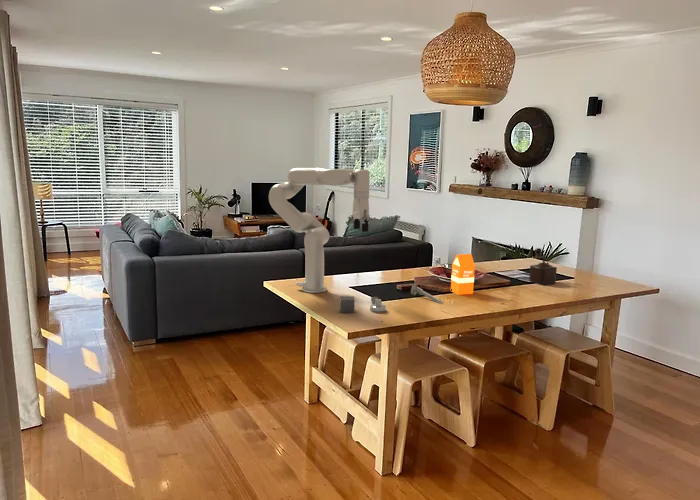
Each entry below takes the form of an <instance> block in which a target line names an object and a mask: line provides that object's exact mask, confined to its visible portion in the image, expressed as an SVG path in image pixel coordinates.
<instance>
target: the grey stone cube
mask: <svg viewBox="0 0 700 500" xmlns="http://www.w3.org/2000/svg"><path fill="white" fill-rule="evenodd" d="M339 299H340V300H339V303H340V304H339V305H340V307H339V308H340V309H339V310H340V311H339V312H340V313H341V312H342V313H341V314H355V296H352V295H351V296H349V295H347V296H346V295H344V296H343V295H341V296H340V298H339ZM346 312H347V313H346Z"/></svg>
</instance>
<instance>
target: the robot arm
mask: <svg viewBox="0 0 700 500" xmlns="http://www.w3.org/2000/svg"><path fill="white" fill-rule="evenodd" d="M370 176H371V175H370V170H369V169H365V168H364V169H353V168H343V169H341V168H339V169H338V168H337V169H336V168H333V169H332V168H328V169H326V168H322V167H294V168H292V169H290V170H289V171H288V174H287V180H285V182H282V183H277V184H274V185H273V186H272V187H271V188H270V190H269V193H268V202H269V205H270V206H271V208H272V209H273V211H274V212H275V213H276V214H277V215H278V216H279V217H281V218H282V220H283V221H284V222H285V223H286V224H287V225H289V227H291V228H292V230H293V231H294V232H296V233H300V234H301V233H305V235H304V237H303V238H304V240H303V243H304V244H303V246H304V254H305V255H304V256H305V257H304V259H305V264H304V265H305V268H304V269H305V272H304V273H305V276H304V278H305V279H304V281H296V284H295V285H296V286H298V287H302V288H301V290H302V291H303V292H305V293H309V294H310V293H311V294H320V293H325V292H326V291H327V290H328V288H327V286H325V250H324V245H325V244H327V243H328V241H329V240H330V232H329V230H328V229H327V228H326V226H325V225H324V224H322V223H321V222H320V221H319V220H318V219H317V218H316V217H315V216H314V215H313V214H311V213H309V212H305V211H304V212H301V211H300V210H298V209H297V208H296V206H294V204H292V203H291V202H289V201H288V200H291V198H293V197H294V196H296V195H297V193H299V192H300V191H301V190H302V189H303V187H304V186H346V185H352V184H353V201H352V212H351V213H352V218H353V219H352V220H353V229H354V230H360V229H361V232H363V233H365V232H366V233H367V232H369V224H370V218H371V217H370V216H371V215H370V204H369V199H370ZM360 220H361V221H360ZM361 222H362V223H361Z"/></svg>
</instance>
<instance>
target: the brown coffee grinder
mask: <svg viewBox="0 0 700 500" xmlns="http://www.w3.org/2000/svg"><path fill="white" fill-rule="evenodd" d="M542 250H543V249H542V248H540V247H537V248H535V249H534V253H535V254H536V255H535V259H542V262H540V263H538V264H533V265H530V266H529V267H530V268H529V276H528V277H529V279H528V281H529V282H530V283H533V284H536V285H540V286H549V285H555V284H556V279H557V269H558V268H557V267H556V266H553V265H551V264H549V263H550V262H549V261H547V262H545V261H546V253H542V252H543V251H542ZM541 253H542V254H541Z"/></svg>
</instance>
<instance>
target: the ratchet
mask: <svg viewBox="0 0 700 500" xmlns="http://www.w3.org/2000/svg"><path fill="white" fill-rule="evenodd" d="M370 300H371V304H370V309H369V310H370V312H371V311H372V312H371V313H375V312H383V313H385V312H387V311H386V310H387V306H386V305H385V304H382V299H380V298H379V297H378V296H370Z"/></svg>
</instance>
